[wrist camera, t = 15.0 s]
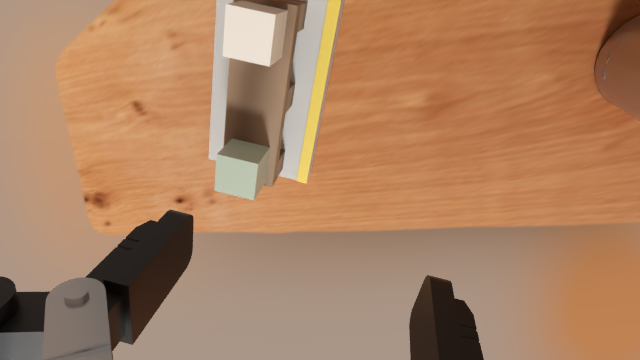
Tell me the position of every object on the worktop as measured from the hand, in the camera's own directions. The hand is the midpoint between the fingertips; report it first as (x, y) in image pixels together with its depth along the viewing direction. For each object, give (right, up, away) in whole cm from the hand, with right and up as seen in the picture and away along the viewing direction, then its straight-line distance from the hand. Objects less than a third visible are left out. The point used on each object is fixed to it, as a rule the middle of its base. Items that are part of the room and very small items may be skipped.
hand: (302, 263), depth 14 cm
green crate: (-7, +5, +28) cm, 29 cm away
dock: (-5, +14, +31) cm, 35 cm away
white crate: (-4, +16, +22) cm, 27 cm away
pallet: (-5, +13, +29) cm, 32 cm away
